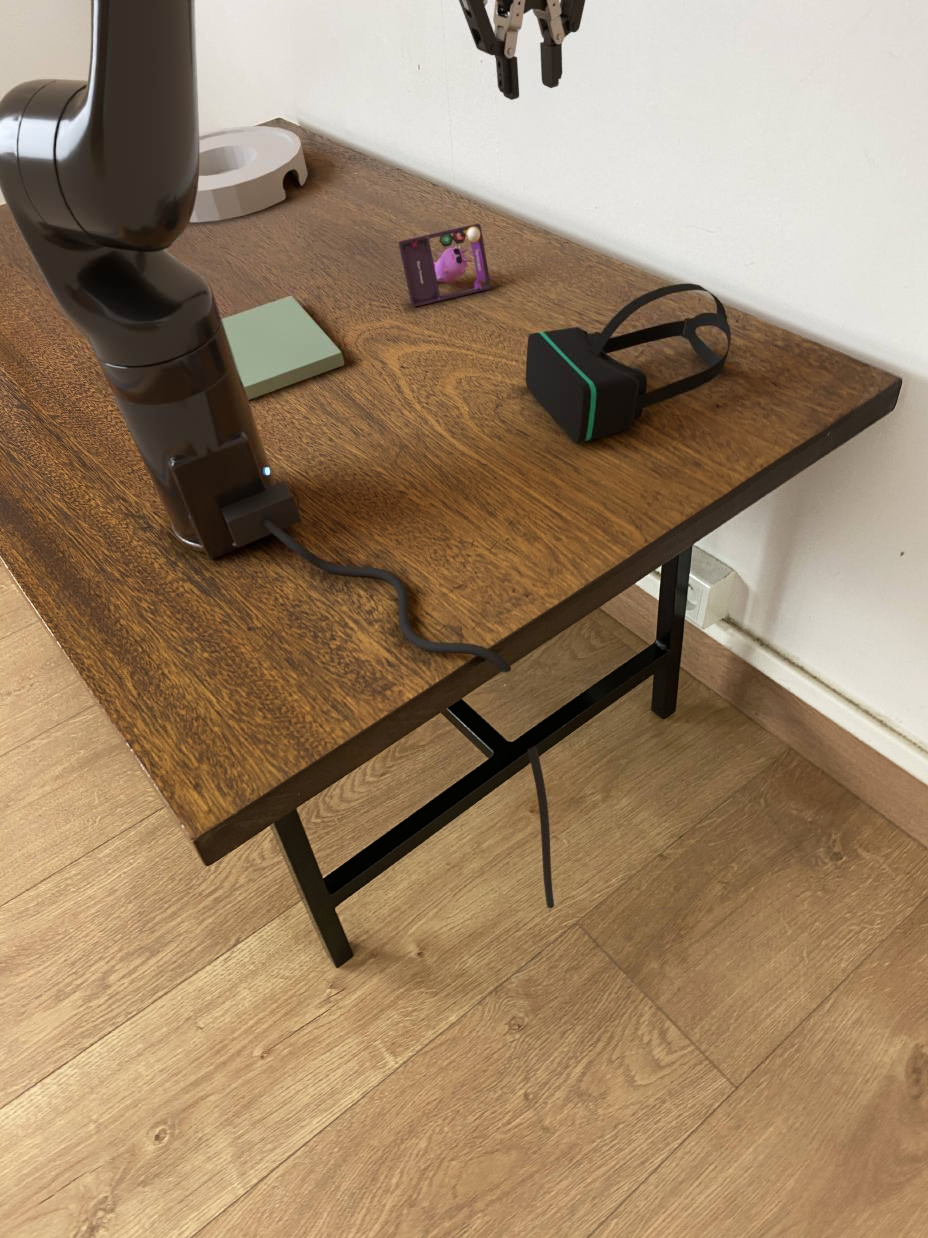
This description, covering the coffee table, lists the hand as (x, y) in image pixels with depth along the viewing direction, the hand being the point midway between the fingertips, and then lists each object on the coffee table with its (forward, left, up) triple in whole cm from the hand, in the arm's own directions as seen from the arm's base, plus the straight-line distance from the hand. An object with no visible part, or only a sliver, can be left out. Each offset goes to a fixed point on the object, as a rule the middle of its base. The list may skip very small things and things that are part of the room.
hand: (531, 90), depth 91 cm
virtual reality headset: (-29, +7, -17) cm, 35 cm away
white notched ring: (+48, +23, -17) cm, 56 cm away
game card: (0, +12, -17) cm, 21 cm away
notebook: (0, +33, -17) cm, 37 cm away
